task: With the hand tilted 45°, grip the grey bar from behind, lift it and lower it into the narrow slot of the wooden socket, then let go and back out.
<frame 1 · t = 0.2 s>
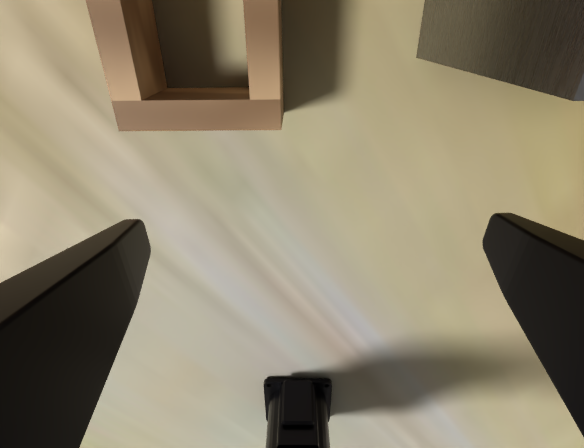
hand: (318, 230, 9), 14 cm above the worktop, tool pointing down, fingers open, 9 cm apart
wooden socket: (204, 19, 19), on the worktop
grey bar: (445, 16, 19), on the worktop
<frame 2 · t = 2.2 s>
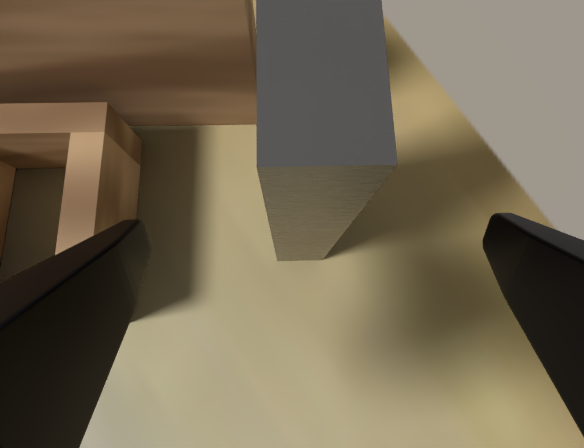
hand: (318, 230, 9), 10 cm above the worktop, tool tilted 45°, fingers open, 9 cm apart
wooden socket: (57, 228, 19), on the worktop
grey bar: (298, 223, 19), on the worktop
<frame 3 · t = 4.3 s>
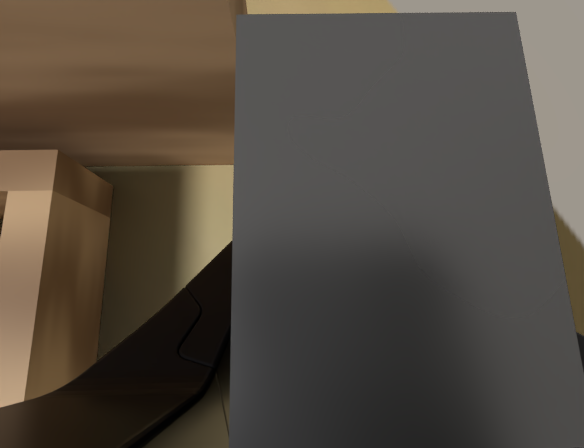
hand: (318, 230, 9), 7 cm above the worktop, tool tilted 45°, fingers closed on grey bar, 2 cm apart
wooden socket: (4, 298, 15), on the worktop
grey bar: (306, 292, 15), on the worktop, touching gripper
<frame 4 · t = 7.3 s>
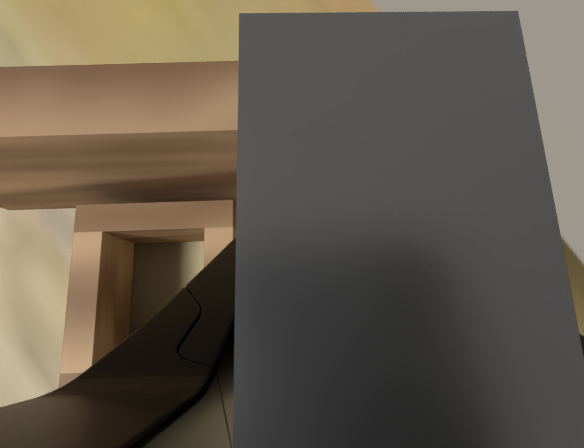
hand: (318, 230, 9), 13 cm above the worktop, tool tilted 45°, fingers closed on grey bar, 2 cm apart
wooden socket: (175, 297, 22), on the worktop
grey bar: (307, 292, 15), point 7 cm above the worktop, touching gripper
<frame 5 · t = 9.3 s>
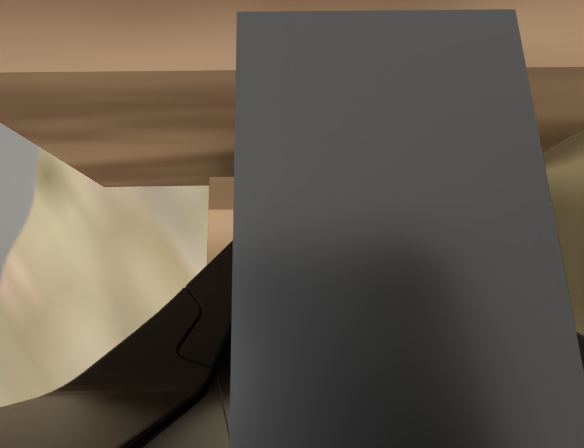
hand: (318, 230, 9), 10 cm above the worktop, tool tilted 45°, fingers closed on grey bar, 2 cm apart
wooden socket: (303, 292, 18), on the worktop
grey bar: (306, 291, 15), point 3 cm above the worktop, touching gripper
when the fingers open (8 cm above the worktop, at t = 10.5 s): grey bar drops 1 cm, resting in wooden socket.
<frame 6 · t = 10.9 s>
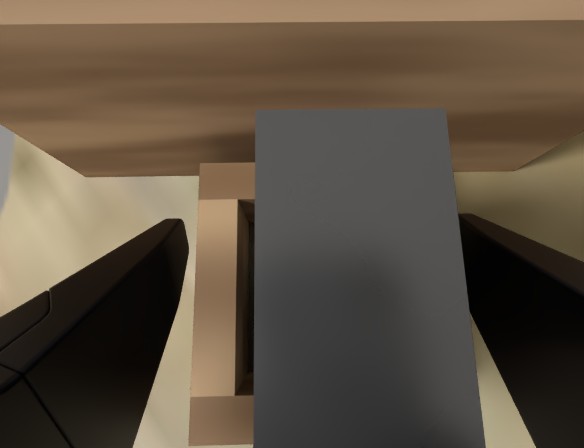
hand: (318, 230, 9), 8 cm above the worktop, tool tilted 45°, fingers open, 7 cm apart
wooden socket: (305, 292, 17), on the worktop
grey bar: (305, 291, 17), resting in wooden socket
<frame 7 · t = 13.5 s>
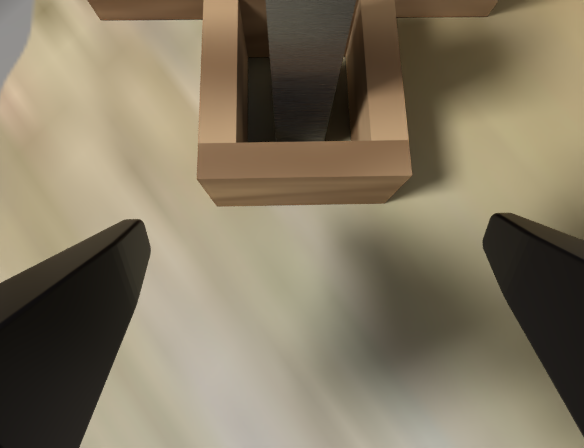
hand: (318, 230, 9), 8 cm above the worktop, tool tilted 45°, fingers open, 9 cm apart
wooden socket: (298, 114, 19), on the worktop
grey bar: (298, 113, 19), resting in wooden socket
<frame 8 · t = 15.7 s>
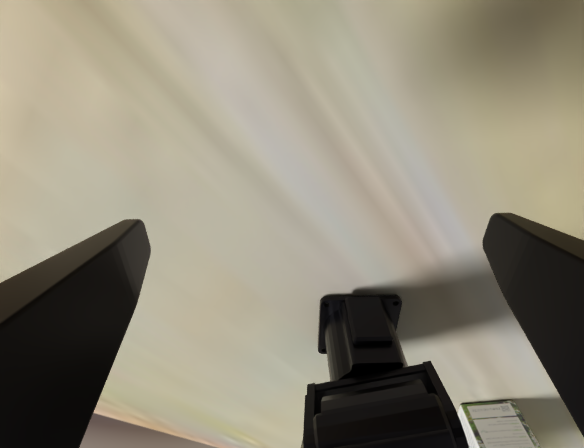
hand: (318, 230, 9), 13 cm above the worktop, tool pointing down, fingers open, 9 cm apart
syrup box: (480, 413, 38), on the worktop
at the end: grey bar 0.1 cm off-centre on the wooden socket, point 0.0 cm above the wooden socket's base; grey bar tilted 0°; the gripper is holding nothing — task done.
